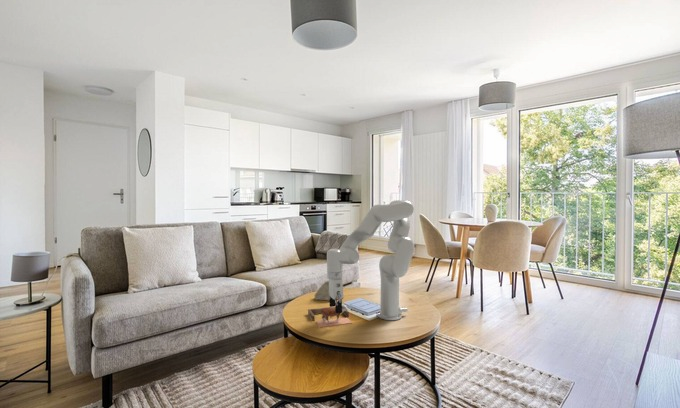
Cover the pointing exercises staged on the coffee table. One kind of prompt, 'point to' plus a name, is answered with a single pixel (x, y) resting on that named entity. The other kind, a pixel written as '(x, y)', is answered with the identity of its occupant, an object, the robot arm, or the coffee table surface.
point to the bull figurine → (331, 313)
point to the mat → (334, 322)
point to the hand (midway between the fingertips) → (335, 309)
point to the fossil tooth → (323, 292)
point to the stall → (318, 311)
